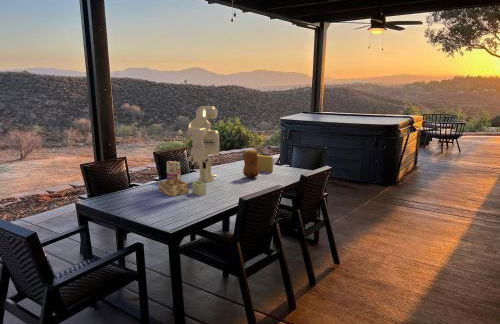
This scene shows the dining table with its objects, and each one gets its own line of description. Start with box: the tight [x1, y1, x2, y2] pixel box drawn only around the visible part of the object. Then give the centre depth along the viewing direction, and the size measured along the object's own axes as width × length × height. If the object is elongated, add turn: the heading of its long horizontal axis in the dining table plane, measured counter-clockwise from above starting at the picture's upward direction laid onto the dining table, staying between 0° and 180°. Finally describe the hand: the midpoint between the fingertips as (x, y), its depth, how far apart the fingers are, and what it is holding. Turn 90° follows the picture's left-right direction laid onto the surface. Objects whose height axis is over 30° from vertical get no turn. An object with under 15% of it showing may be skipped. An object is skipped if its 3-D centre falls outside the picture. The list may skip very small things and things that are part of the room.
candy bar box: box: [165, 160, 182, 181], centre depth 292 cm, size 11×5×16 cm, turn 62°
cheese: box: [257, 153, 274, 173], centre depth 333 cm, size 22×10×15 cm, turn 48°
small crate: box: [191, 180, 207, 197], centre depth 257 cm, size 6×10×8 cm, turn 38°
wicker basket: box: [157, 179, 190, 197], centre depth 261 cm, size 15×19×7 cm
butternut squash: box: [242, 149, 260, 180], centre depth 303 cm, size 14×13×25 cm
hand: (198, 169), depth 254 cm, fingers open, 9 cm apart
